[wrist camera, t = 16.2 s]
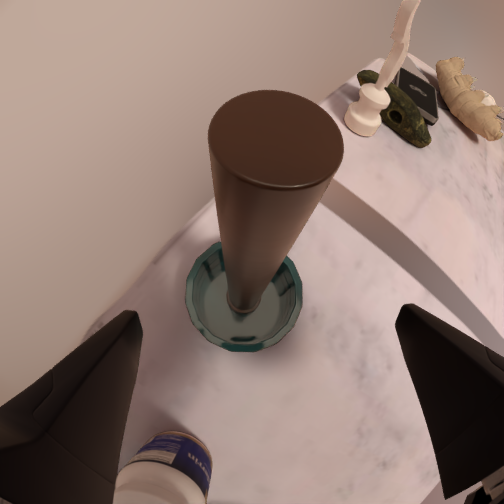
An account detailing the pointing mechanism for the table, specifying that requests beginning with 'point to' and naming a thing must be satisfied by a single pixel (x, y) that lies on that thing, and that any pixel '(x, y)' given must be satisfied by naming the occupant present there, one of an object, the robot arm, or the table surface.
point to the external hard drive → (419, 94)
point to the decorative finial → (382, 77)
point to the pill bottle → (166, 472)
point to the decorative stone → (400, 112)
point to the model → (467, 100)
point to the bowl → (231, 324)
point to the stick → (267, 182)
